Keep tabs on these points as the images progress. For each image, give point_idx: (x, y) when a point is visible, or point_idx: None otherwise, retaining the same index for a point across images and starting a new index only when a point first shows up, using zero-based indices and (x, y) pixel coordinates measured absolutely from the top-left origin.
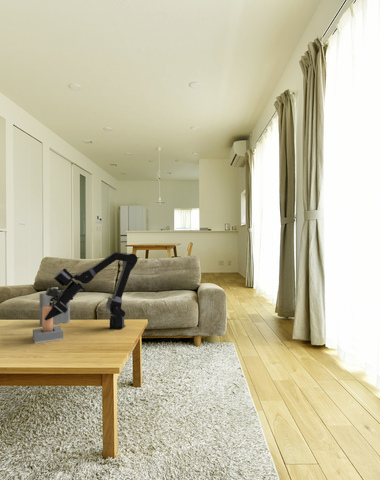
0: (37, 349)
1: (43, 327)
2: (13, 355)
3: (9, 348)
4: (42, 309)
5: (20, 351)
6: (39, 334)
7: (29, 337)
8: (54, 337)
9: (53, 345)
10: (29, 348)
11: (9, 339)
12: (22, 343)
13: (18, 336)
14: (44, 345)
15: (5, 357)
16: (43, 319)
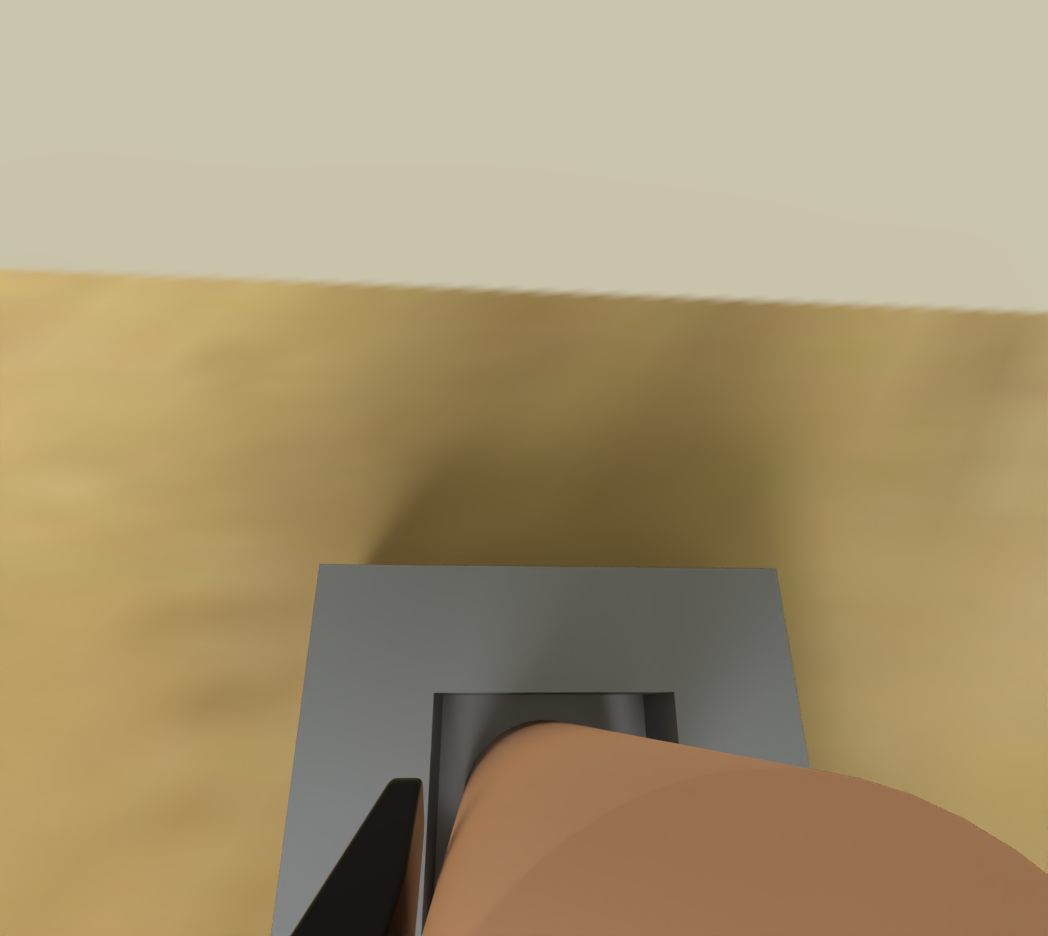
0: (9, 591)
1: (512, 741)
2: (6, 339)
3: (331, 322)
4: (677, 754)
5: (104, 408)
6: (316, 640)
7: (729, 552)
8: None
9: (12, 843)
10: (149, 506)
11: (742, 342)
12: (458, 452)
13: (849, 435)
14: (133, 704)
15: (6, 276)
16: (514, 755)
